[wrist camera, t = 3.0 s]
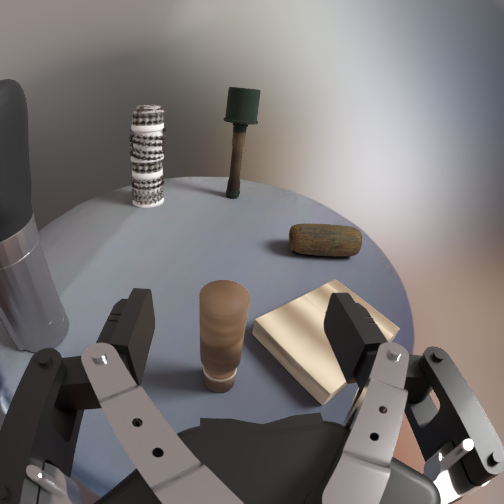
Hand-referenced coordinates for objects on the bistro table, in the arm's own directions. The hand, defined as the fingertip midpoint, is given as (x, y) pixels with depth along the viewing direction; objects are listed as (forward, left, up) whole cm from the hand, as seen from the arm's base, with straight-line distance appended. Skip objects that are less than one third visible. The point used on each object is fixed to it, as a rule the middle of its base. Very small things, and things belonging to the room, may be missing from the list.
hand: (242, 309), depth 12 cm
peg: (+4, +8, -21) cm, 23 cm away
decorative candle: (+14, +60, -22) cm, 65 cm away
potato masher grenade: (+36, +53, -22) cm, 67 cm away
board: (+21, +5, -21) cm, 30 cm away
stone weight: (+38, +21, -22) cm, 49 cm away
